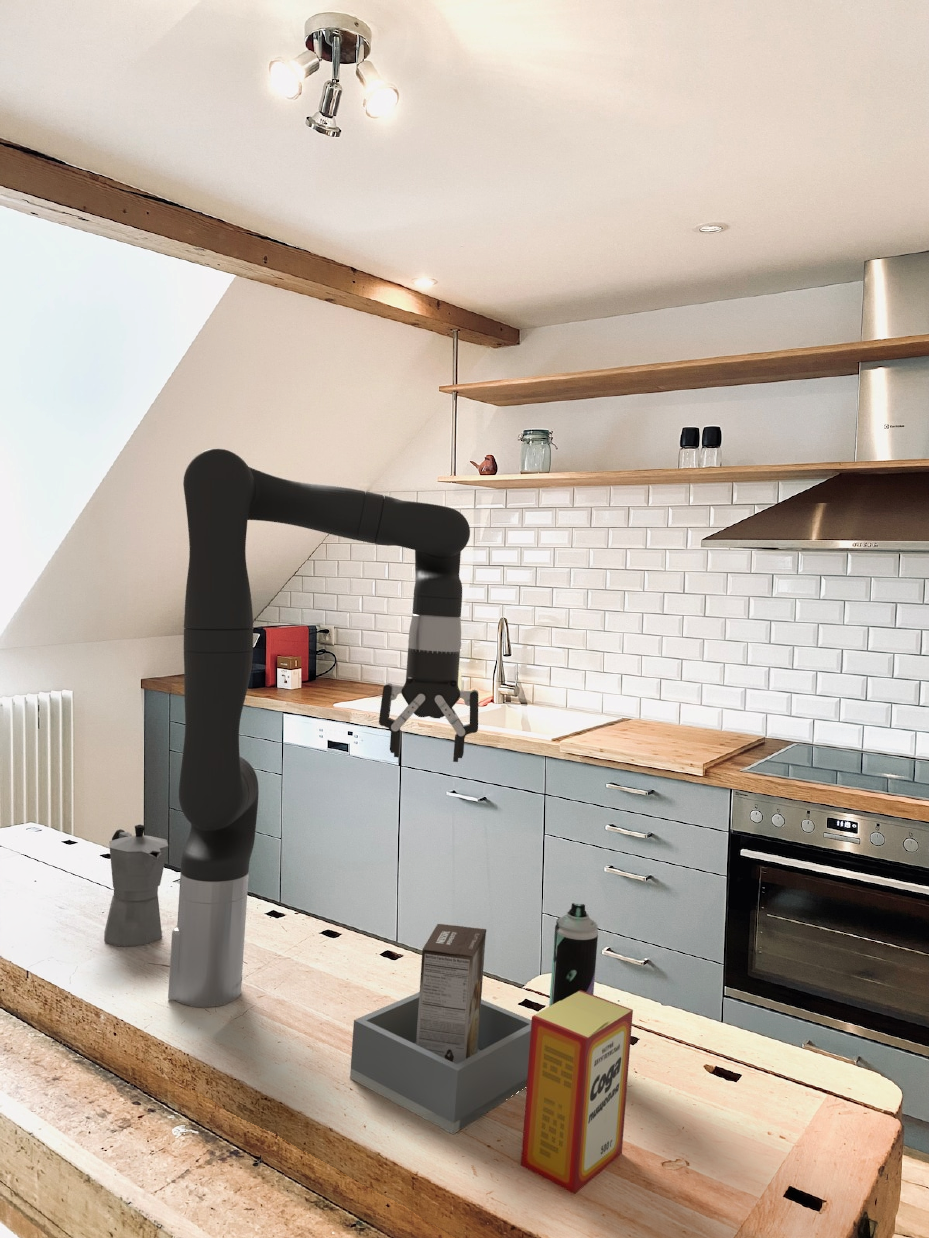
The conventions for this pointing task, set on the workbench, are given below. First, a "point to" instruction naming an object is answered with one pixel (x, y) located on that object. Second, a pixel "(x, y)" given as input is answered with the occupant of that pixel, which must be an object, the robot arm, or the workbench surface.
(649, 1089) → the workbench surface
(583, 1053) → the baking soda box
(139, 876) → the coffeepot
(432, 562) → the robot arm
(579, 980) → the spray can
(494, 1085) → the tote
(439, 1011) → the coffee box
